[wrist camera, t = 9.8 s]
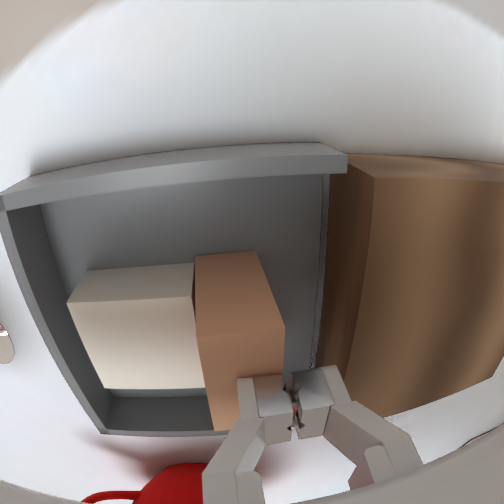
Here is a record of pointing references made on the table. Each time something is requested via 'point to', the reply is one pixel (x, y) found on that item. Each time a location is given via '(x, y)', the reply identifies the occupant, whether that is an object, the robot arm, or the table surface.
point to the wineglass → (5, 347)
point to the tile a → (140, 326)
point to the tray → (167, 252)
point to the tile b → (235, 329)
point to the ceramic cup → (163, 488)
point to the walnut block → (413, 278)
